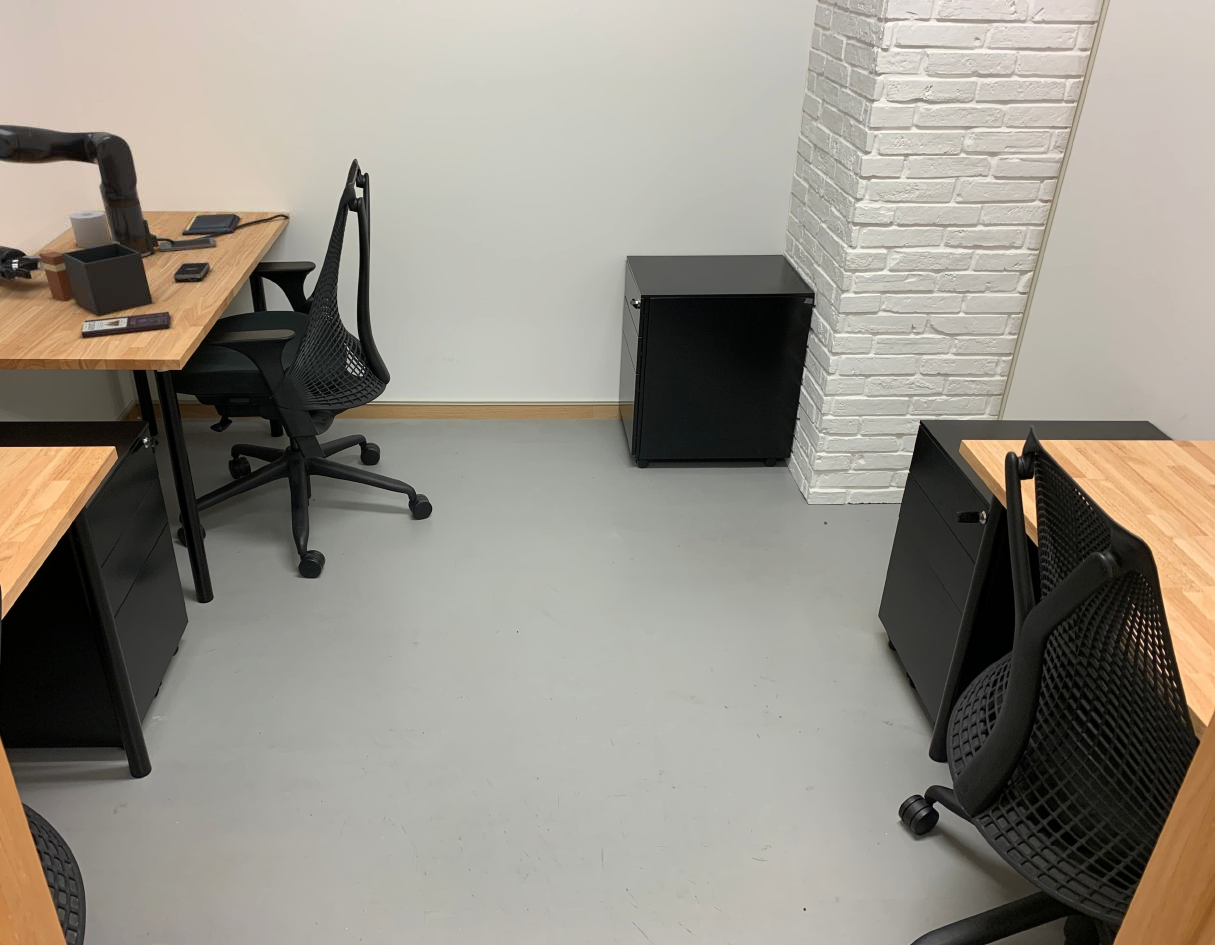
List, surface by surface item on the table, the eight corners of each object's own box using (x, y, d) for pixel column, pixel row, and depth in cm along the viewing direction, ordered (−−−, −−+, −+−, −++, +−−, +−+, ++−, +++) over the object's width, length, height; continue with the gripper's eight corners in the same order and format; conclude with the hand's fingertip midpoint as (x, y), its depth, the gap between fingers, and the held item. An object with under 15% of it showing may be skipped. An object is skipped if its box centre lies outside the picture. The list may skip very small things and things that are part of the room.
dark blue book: (231, 227, 286) (179, 229, 283) (232, 233, 286) (180, 235, 284) (240, 212, 303) (191, 213, 300) (242, 217, 304) (193, 219, 301)
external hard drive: (174, 282, 244) (172, 275, 243) (184, 270, 253) (182, 263, 252) (202, 281, 245) (200, 274, 244) (211, 269, 254) (209, 262, 253)
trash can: (129, 291, 237) (117, 242, 231) (152, 303, 229) (140, 253, 223) (75, 303, 228) (61, 253, 222) (98, 316, 221) (84, 264, 215)
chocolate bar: (168, 324, 214) (81, 333, 208) (169, 327, 214) (82, 337, 208) (168, 311, 221) (84, 320, 215) (169, 315, 221) (85, 324, 215)
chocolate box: (52, 298, 232) (39, 255, 226) (65, 294, 235) (53, 251, 229) (64, 301, 230) (52, 257, 225) (77, 296, 233) (65, 253, 227)
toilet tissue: (106, 235, 283) (98, 206, 279) (114, 245, 274) (107, 216, 270) (73, 239, 279) (65, 210, 275) (80, 249, 269) (72, 220, 265)
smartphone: (214, 239, 280) (213, 237, 280) (215, 246, 273) (215, 244, 273) (160, 244, 275) (159, 242, 274) (160, 251, 268) (160, 249, 268)
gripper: (34, 268, 245) (75, 277, 239) (-18, 283, 234) (22, 293, 227) (26, 240, 241) (67, 249, 235) (-28, 254, 230) (13, 263, 224)
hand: (45, 270), depth 231 cm, fingers open, 8 cm apart
